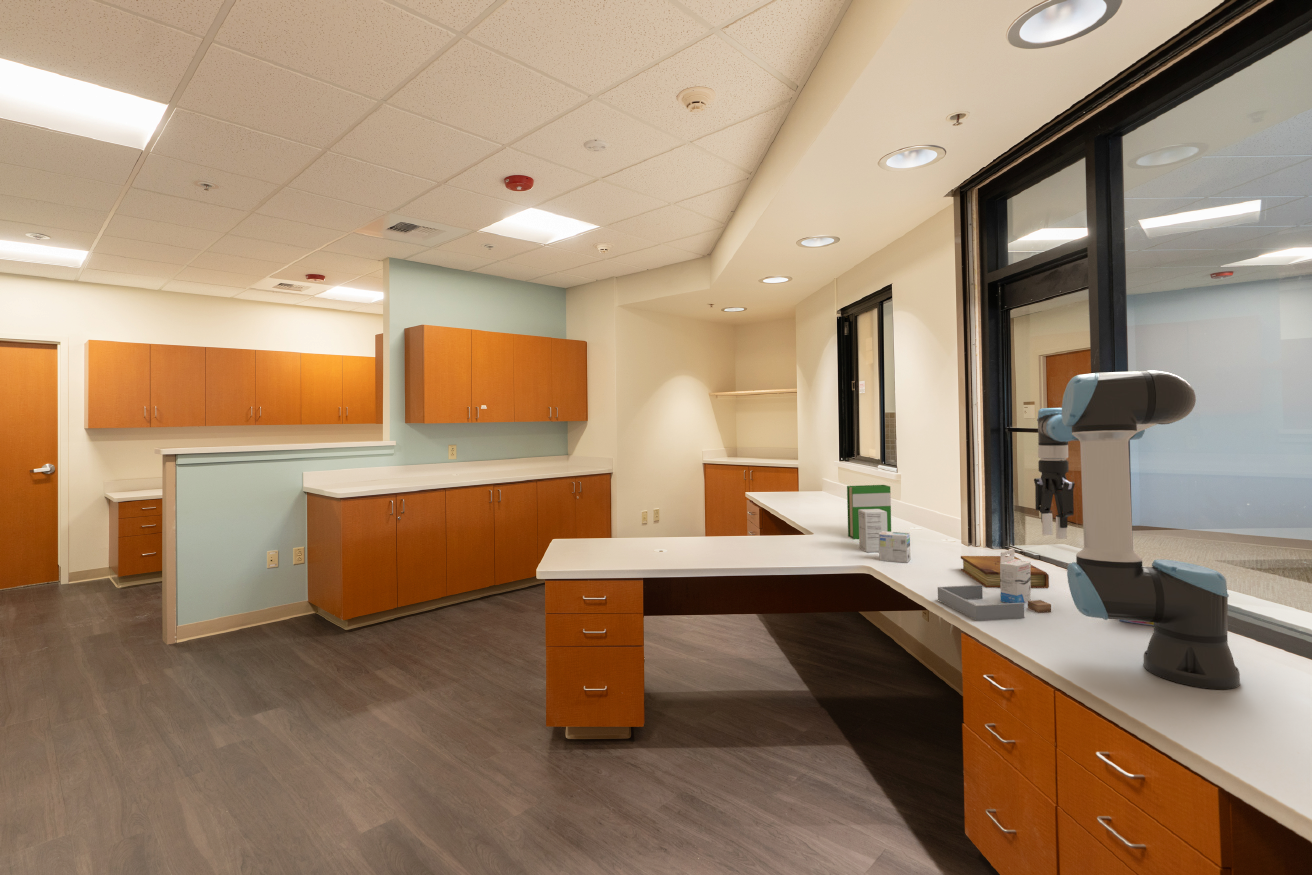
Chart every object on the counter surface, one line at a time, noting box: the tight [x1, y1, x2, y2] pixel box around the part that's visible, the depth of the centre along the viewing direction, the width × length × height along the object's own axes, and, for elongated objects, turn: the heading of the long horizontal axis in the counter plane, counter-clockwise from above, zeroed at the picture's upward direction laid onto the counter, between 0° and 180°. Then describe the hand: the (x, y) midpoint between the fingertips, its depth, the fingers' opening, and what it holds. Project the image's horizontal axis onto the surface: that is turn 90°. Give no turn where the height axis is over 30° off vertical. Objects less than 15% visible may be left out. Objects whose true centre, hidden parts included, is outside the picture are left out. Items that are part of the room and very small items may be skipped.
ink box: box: [999, 549, 1032, 604], centre depth 177 cm, size 8×5×15 cm, turn 123°
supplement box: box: [858, 509, 887, 553], centre depth 251 cm, size 10×9×17 cm
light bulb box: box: [878, 531, 912, 564], centre depth 232 cm, size 11×7×11 cm, turn 58°
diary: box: [960, 555, 1050, 589], centre depth 202 cm, size 23×19×6 cm
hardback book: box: [846, 484, 892, 540], centre depth 277 cm, size 18×7×24 cm, turn 91°
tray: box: [937, 584, 1025, 622], centre depth 171 cm, size 19×14×4 cm
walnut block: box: [1027, 599, 1052, 614], centre depth 168 cm, size 4×4×2 cm
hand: (1054, 536), depth 178 cm, fingers open, 5 cm apart
